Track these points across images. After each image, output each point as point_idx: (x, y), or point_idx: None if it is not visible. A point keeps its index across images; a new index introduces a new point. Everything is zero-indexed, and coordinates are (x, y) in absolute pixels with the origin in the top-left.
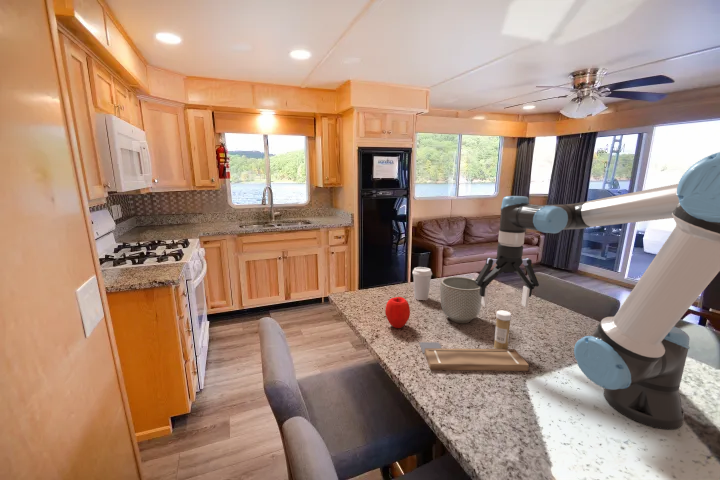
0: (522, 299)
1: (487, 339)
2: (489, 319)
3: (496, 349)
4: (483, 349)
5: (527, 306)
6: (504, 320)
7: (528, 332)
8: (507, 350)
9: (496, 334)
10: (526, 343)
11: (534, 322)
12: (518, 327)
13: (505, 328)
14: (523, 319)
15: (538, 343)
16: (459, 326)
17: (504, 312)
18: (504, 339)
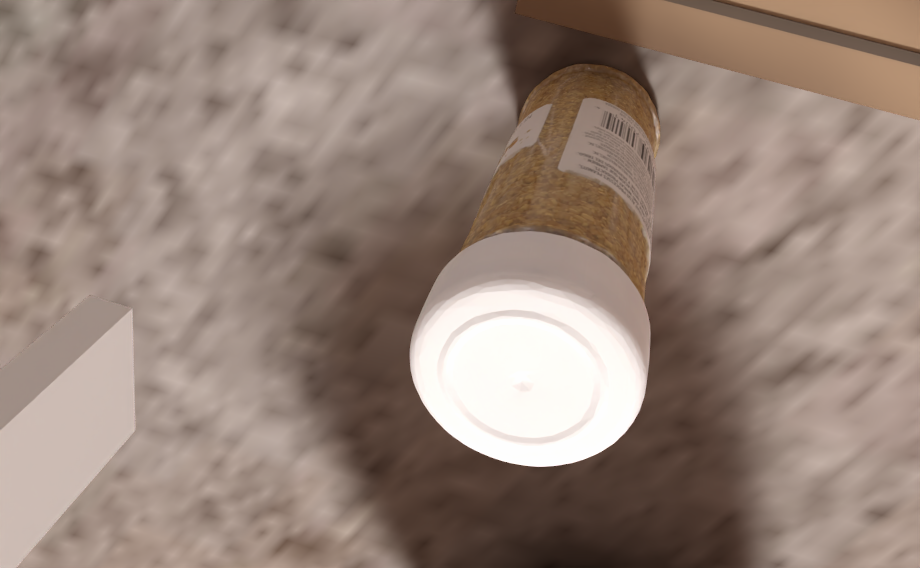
0: (68, 483)
1: None
2: (345, 543)
3: (736, 57)
4: (897, 97)
5: (81, 304)
6: (594, 250)
7: (140, 294)
8: (621, 5)
9: (653, 211)
10: (264, 147)
11: None
12: (179, 380)
13: (581, 180)
14: None
15: (153, 117)
16: (690, 550)
17: (506, 386)
18: (597, 117)
